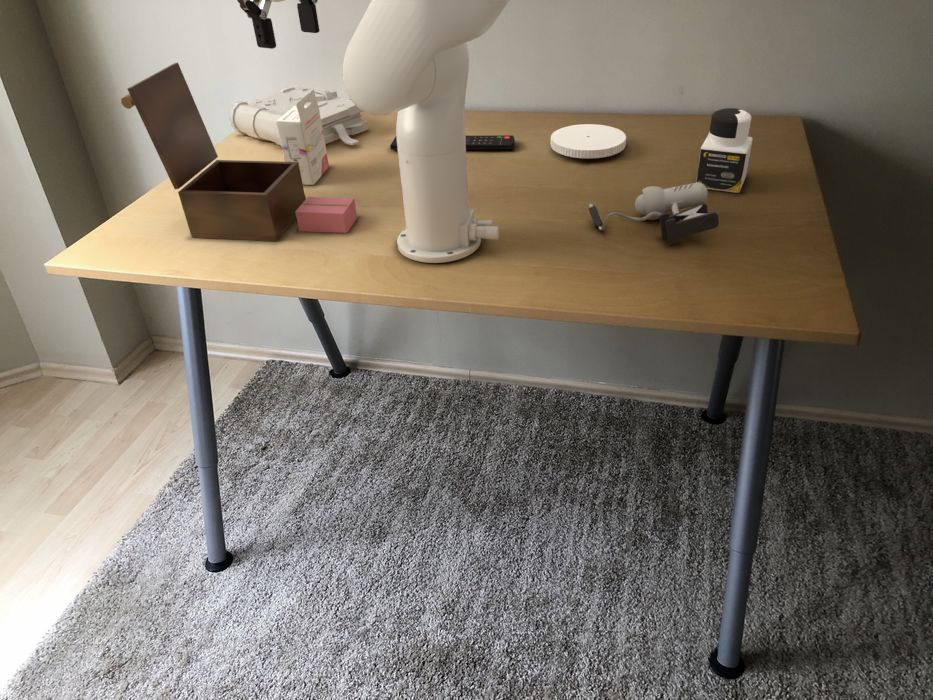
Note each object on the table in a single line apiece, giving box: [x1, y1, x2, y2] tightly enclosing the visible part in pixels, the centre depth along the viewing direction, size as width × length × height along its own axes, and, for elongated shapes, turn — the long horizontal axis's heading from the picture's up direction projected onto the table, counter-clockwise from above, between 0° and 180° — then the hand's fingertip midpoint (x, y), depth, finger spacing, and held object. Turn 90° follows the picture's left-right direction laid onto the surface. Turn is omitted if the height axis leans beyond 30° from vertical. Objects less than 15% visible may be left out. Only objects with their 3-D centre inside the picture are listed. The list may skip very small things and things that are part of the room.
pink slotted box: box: [295, 196, 358, 234], centre depth 117 cm, size 8×6×4 cm
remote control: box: [389, 134, 516, 150], centre depth 142 cm, size 5×24×1 cm, turn 82°
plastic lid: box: [550, 123, 627, 160], centre depth 137 cm, size 14×14×2 cm
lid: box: [120, 62, 219, 190], centre depth 113 cm, size 15×13×6 cm
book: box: [229, 84, 369, 146], centre depth 150 cm, size 19×28×8 cm
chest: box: [177, 159, 307, 242], centre depth 118 cm, size 15×13×8 cm
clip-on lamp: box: [588, 182, 720, 246], centre depth 109 cm, size 12×6×18 cm
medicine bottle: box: [695, 107, 754, 194], centre depth 119 cm, size 7×7×12 cm
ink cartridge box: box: [276, 90, 330, 186], centre depth 130 cm, size 9×5×15 cm, turn 168°
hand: (289, 39), depth 109 cm, fingers open, 9 cm apart
